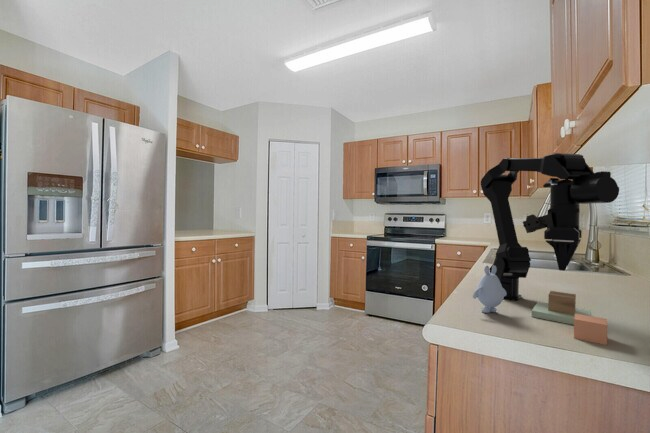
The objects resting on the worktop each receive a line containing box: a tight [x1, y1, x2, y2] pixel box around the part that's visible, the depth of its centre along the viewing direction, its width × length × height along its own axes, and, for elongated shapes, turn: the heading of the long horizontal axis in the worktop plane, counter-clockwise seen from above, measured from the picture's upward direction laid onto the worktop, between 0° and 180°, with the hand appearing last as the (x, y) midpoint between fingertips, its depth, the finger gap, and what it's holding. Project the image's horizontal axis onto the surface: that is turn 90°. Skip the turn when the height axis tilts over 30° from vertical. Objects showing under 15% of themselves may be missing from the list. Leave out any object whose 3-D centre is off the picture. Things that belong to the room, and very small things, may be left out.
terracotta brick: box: [573, 314, 608, 346], centre depth 63 cm, size 5×5×4 cm
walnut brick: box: [547, 290, 577, 315], centre depth 76 cm, size 5×5×4 cm
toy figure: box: [472, 264, 507, 314], centre depth 79 cm, size 11×6×12 cm, turn 108°
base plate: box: [531, 301, 592, 326], centre depth 76 cm, size 11×11×2 cm
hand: (563, 268), depth 76 cm, fingers open, 9 cm apart
